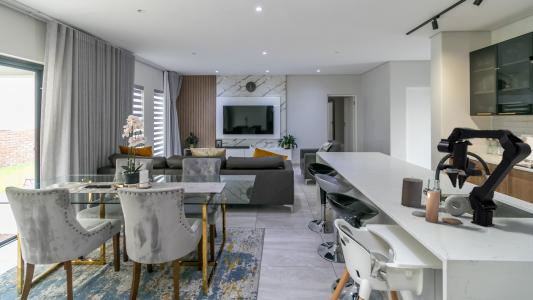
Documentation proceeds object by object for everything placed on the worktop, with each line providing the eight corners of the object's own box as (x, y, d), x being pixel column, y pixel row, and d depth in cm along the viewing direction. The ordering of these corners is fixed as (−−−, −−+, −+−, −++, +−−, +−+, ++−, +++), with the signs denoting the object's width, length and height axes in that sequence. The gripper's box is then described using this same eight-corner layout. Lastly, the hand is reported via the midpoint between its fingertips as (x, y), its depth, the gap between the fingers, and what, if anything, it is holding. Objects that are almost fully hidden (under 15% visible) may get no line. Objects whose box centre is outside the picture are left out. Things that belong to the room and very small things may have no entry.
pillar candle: (397, 204, 171) (399, 176, 169) (406, 201, 177) (408, 174, 175) (415, 209, 163) (417, 179, 162) (424, 205, 170) (426, 177, 168)
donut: (443, 215, 153) (445, 194, 152) (443, 213, 156) (444, 192, 155) (468, 217, 149) (470, 196, 148) (467, 215, 152) (468, 194, 151)
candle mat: (433, 216, 151) (433, 215, 151) (420, 217, 148) (421, 216, 148) (420, 211, 158) (420, 210, 158) (408, 213, 155) (408, 212, 155)
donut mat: (465, 223, 141) (465, 221, 141) (452, 224, 139) (452, 223, 139) (449, 218, 148) (450, 216, 148) (437, 219, 146) (437, 218, 146)
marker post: (440, 222, 142) (442, 193, 141) (432, 223, 140) (434, 193, 139) (431, 219, 147) (433, 190, 145) (422, 220, 145) (424, 191, 144)
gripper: (492, 156, 144) (489, 191, 146) (454, 152, 161) (452, 183, 163) (474, 157, 140) (471, 193, 142) (437, 152, 158) (435, 184, 159)
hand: (457, 188), depth 151 cm, fingers open, 3 cm apart
